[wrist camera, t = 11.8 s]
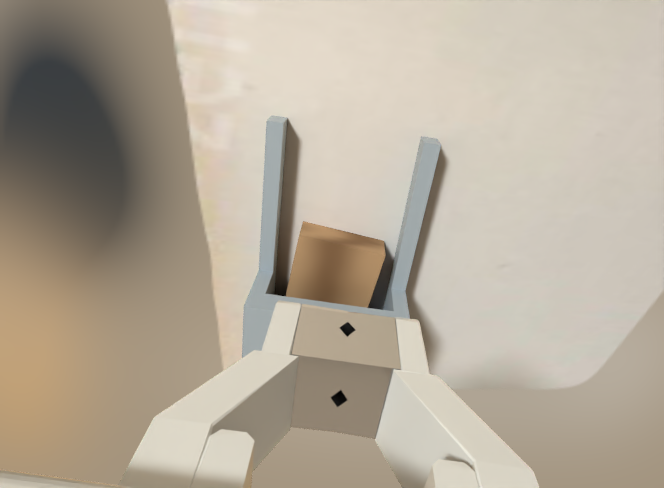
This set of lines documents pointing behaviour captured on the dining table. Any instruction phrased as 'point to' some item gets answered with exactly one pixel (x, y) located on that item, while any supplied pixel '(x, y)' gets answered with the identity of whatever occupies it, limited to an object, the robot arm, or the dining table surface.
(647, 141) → the dining table surface
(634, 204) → the dining table surface
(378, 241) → the tan cardboard slab
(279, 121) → the grey u-shaped frame
